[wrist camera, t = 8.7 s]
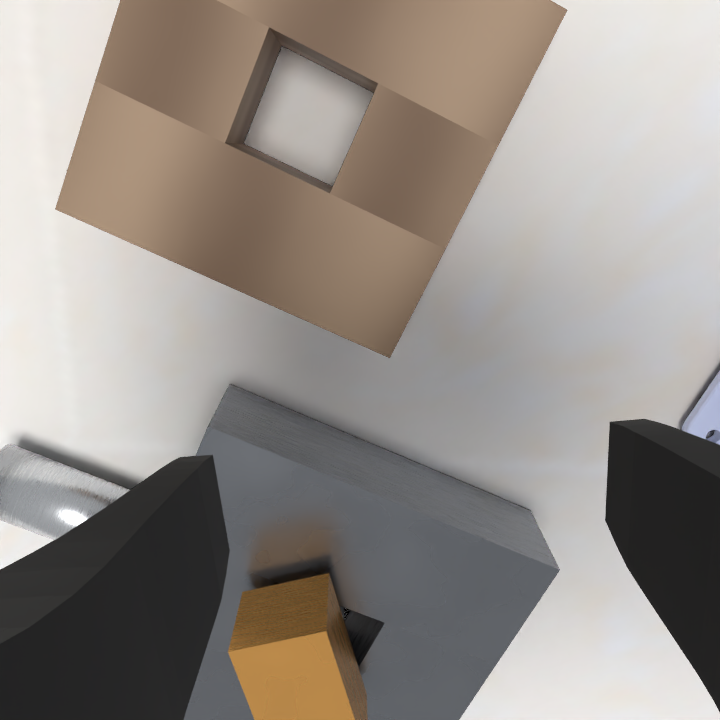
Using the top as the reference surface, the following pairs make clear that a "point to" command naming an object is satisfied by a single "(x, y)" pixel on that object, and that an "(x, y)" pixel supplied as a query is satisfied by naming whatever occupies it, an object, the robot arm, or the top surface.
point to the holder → (284, 183)
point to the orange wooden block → (296, 653)
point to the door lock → (338, 552)
